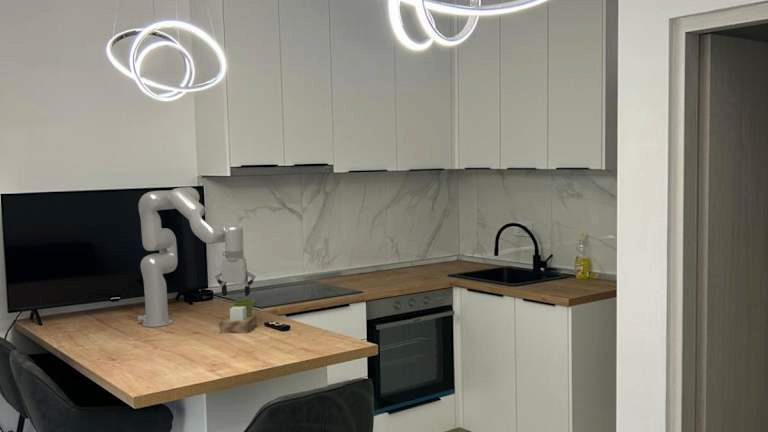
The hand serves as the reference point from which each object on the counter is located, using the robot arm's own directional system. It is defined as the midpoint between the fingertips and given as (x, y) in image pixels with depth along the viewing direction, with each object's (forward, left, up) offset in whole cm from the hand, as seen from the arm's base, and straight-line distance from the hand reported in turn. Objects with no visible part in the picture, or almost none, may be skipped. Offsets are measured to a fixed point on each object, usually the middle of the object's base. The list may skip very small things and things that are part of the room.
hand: (235, 295), depth 309 cm
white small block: (+1, 0, -10) cm, 10 cm away
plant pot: (-4, +20, -15) cm, 25 cm away
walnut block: (0, 0, -15) cm, 15 cm away
